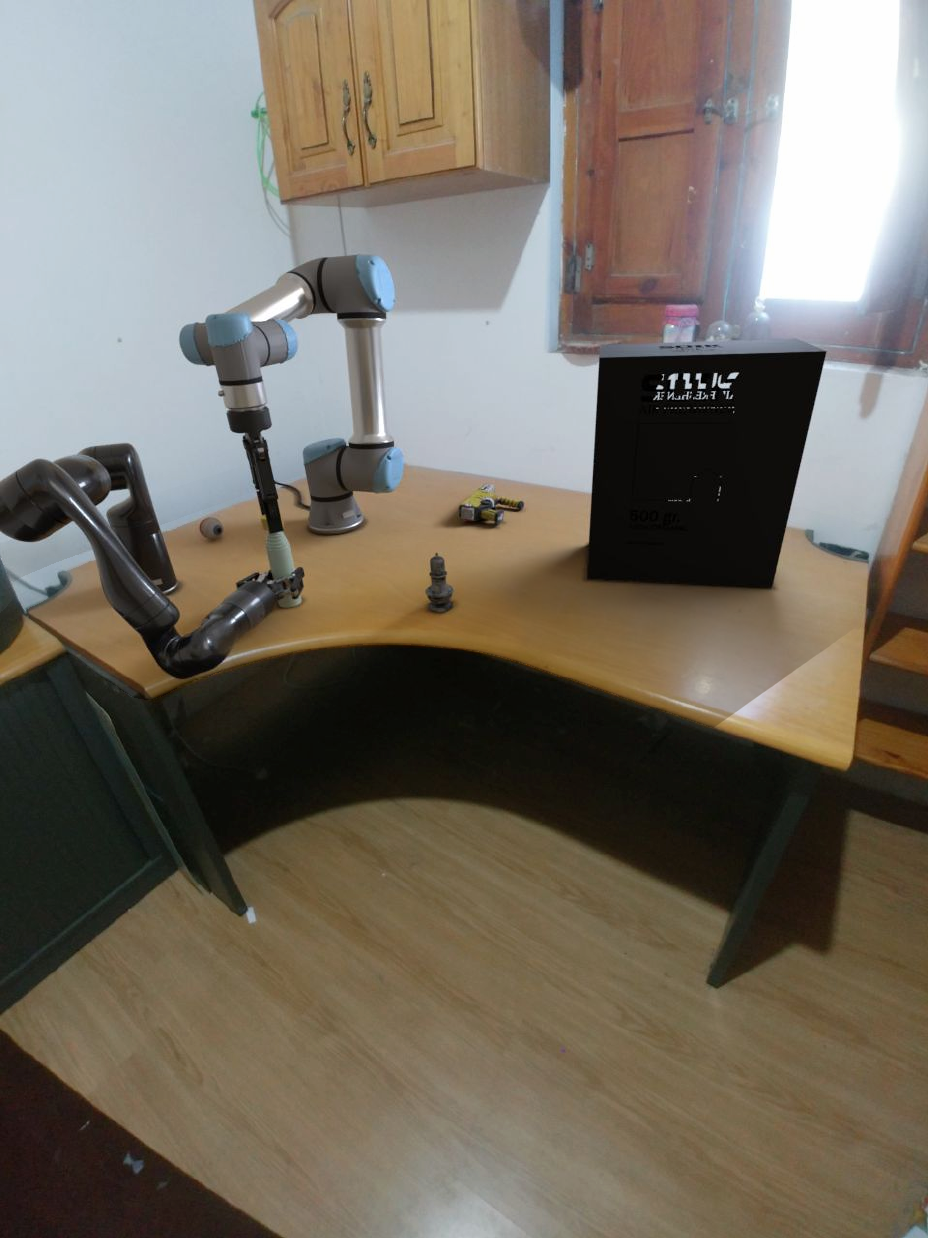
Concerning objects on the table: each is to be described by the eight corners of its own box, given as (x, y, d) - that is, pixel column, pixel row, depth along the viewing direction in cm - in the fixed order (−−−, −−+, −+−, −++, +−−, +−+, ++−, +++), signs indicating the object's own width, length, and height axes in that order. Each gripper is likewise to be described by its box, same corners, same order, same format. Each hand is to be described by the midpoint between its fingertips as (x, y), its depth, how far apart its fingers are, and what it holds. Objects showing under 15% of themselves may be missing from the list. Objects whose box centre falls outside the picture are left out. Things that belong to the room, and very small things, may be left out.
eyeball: (213, 544, 161) (207, 523, 158) (198, 540, 164) (191, 520, 161) (231, 536, 165) (225, 516, 162) (216, 533, 168) (210, 512, 165)
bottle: (274, 604, 130) (254, 520, 120) (291, 595, 133) (273, 513, 124) (289, 609, 127) (270, 524, 118) (306, 600, 131) (288, 517, 121)
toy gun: (532, 488, 178) (484, 481, 182) (510, 513, 158) (457, 504, 162) (530, 504, 181) (483, 496, 185) (509, 529, 161) (456, 520, 165)
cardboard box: (752, 548, 142) (795, 338, 119) (772, 587, 124) (826, 351, 102) (589, 543, 149) (600, 344, 127) (586, 579, 132) (599, 357, 110)
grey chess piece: (451, 613, 122) (447, 559, 116) (423, 611, 123) (418, 558, 117) (457, 599, 127) (454, 547, 121) (430, 598, 128) (425, 546, 122)
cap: (270, 522, 124) (268, 511, 123) (287, 524, 123) (285, 512, 122) (259, 530, 121) (256, 518, 119) (276, 531, 119) (274, 520, 118)
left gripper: (275, 593, 112) (317, 555, 126) (209, 587, 115) (257, 551, 129) (283, 628, 115) (323, 587, 129) (219, 621, 119) (264, 583, 133)
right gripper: (219, 402, 116) (247, 515, 128) (232, 419, 101) (262, 546, 113) (259, 397, 119) (282, 509, 130) (277, 413, 104) (302, 537, 115)
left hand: (290, 570), depth 129 cm, fingers closed on bottle, 4 cm apart
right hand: (273, 526), depth 122 cm, fingers open, 6 cm apart
